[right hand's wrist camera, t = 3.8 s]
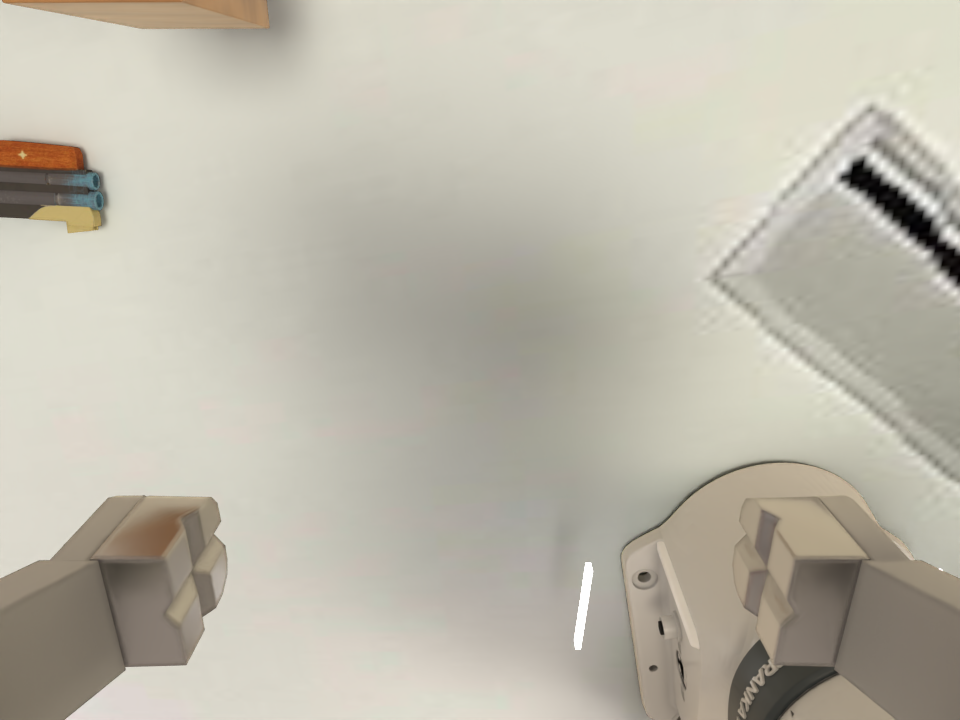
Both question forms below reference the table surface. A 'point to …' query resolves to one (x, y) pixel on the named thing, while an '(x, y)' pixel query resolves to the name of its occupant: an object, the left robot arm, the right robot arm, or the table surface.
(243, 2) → the bar
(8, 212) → the toy gun
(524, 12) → the table surface
